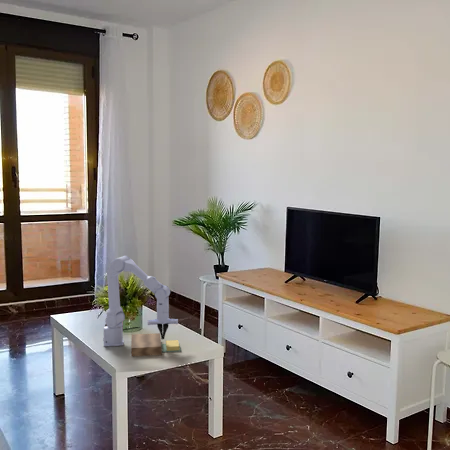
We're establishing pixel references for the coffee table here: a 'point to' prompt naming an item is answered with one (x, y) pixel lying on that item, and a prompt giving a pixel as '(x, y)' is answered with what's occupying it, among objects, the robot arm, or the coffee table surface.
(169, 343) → the yellow rectangular block
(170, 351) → the mat
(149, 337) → the deck
